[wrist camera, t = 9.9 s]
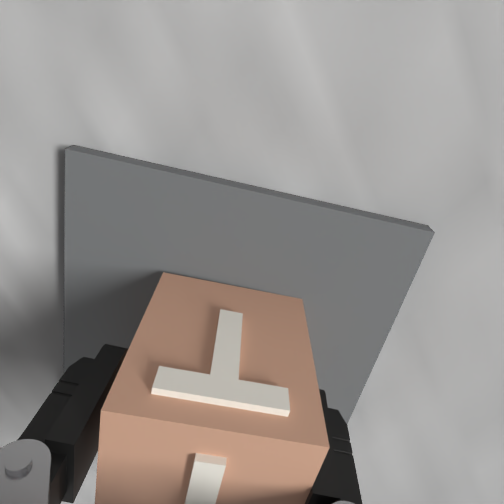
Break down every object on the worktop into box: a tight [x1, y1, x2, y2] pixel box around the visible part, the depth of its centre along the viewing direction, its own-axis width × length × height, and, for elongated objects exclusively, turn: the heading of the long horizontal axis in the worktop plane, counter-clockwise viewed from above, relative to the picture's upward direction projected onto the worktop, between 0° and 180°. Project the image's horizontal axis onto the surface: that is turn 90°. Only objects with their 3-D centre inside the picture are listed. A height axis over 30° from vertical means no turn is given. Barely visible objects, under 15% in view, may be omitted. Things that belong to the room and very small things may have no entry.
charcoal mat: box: [64, 145, 435, 424], centre depth 15 cm, size 12×12×1 cm
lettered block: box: [95, 272, 330, 504], centre depth 12 cm, size 5×5×6 cm
